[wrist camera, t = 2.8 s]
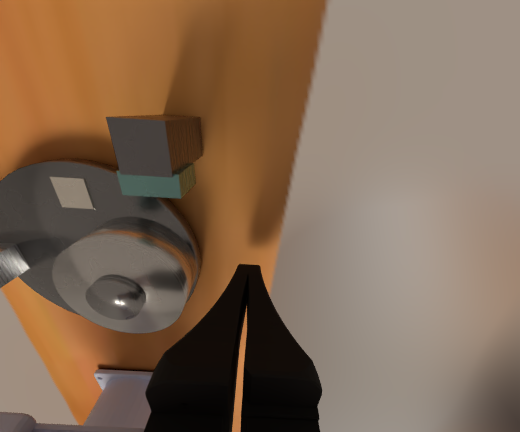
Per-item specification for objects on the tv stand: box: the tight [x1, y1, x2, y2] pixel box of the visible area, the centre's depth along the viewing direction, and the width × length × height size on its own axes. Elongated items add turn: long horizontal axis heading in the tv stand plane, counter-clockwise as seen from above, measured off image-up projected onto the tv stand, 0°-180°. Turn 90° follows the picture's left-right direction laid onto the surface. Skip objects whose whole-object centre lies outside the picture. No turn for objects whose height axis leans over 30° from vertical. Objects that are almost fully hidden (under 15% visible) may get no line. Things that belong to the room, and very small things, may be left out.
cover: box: [52, 217, 197, 333], centre depth 12 cm, size 7×7×3 cm
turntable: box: [0, 159, 201, 315], centre depth 13 cm, size 13×14×4 cm
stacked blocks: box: [106, 115, 203, 199], centre depth 10 cm, size 3×2×4 cm
